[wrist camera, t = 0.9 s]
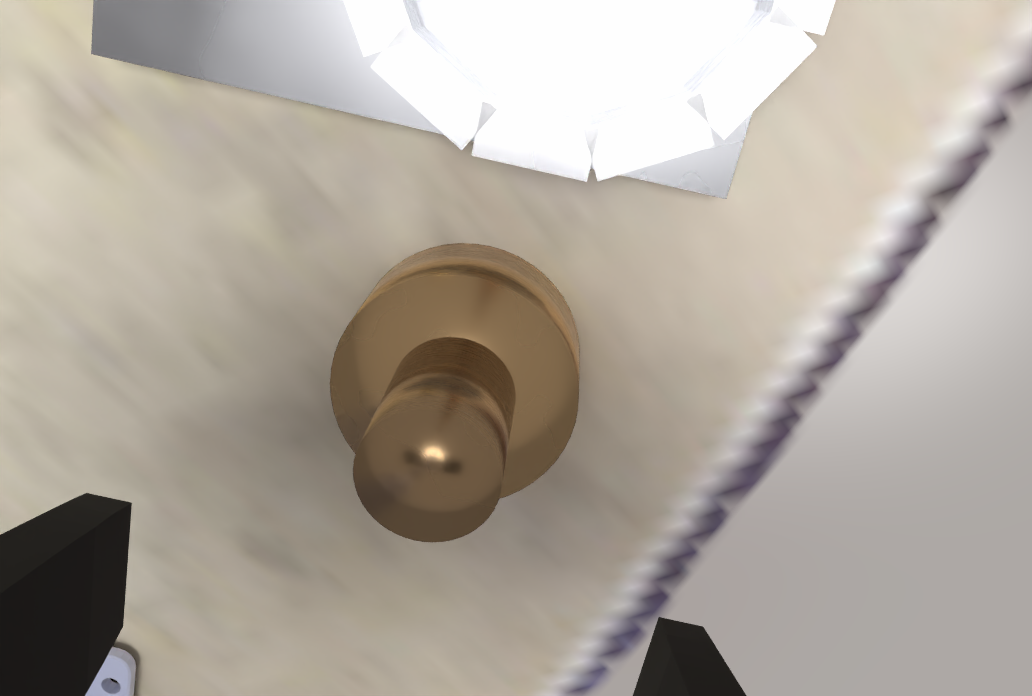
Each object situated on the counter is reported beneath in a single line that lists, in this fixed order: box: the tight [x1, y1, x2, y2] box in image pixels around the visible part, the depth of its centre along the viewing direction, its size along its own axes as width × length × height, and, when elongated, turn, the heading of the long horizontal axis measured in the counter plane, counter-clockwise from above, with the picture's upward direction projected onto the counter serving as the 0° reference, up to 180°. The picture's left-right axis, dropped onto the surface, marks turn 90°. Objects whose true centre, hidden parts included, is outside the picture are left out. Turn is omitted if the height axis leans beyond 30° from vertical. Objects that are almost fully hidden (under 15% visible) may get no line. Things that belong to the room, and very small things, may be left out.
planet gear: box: [330, 243, 579, 542], centre depth 19 cm, size 5×5×6 cm
